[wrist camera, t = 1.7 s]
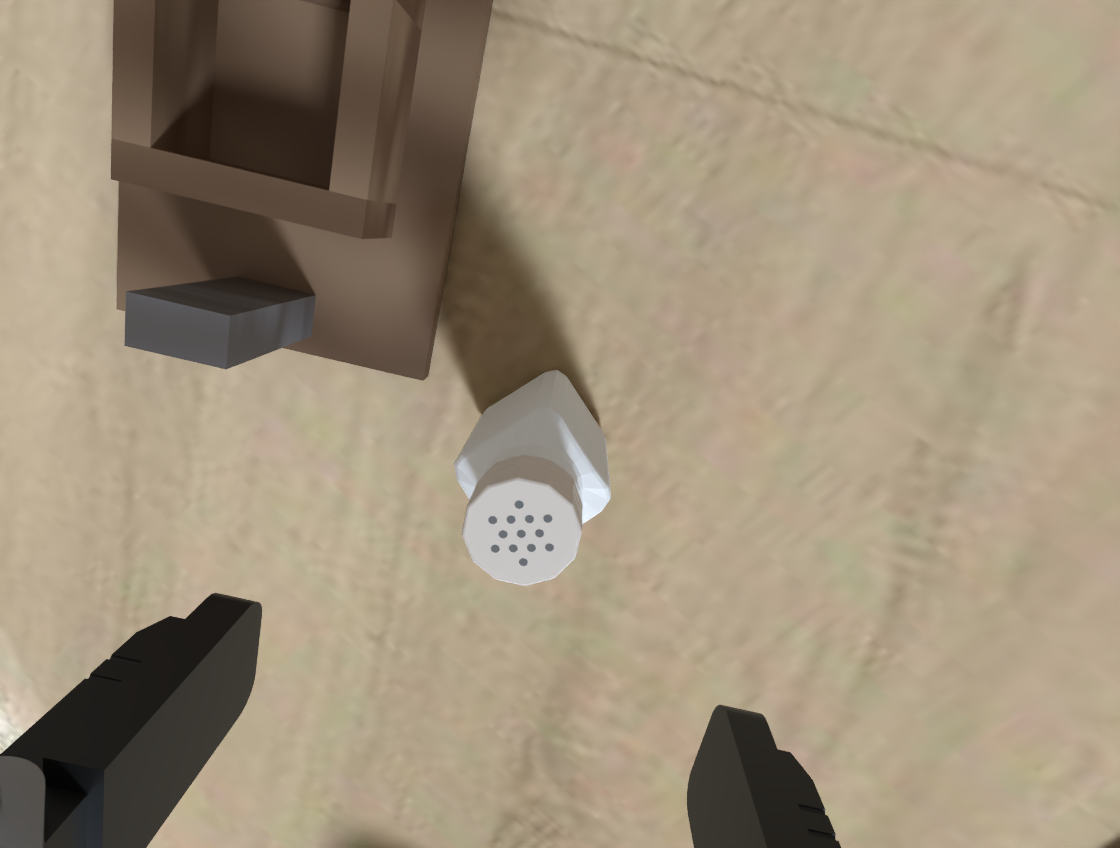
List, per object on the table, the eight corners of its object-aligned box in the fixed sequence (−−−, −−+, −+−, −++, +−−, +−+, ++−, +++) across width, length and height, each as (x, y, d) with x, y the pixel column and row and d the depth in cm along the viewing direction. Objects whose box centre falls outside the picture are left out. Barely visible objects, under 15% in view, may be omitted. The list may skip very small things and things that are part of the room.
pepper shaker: (530, 490, 27) (501, 623, 18) (476, 412, 26) (416, 511, 17) (611, 442, 26) (625, 556, 17) (559, 360, 25) (542, 434, 16)
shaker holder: (146, -261, 20) (-69, -499, 13) (521, -164, 20) (489, -350, 14) (131, 306, 25) (-29, 333, 19) (428, 376, 25) (373, 426, 19)
